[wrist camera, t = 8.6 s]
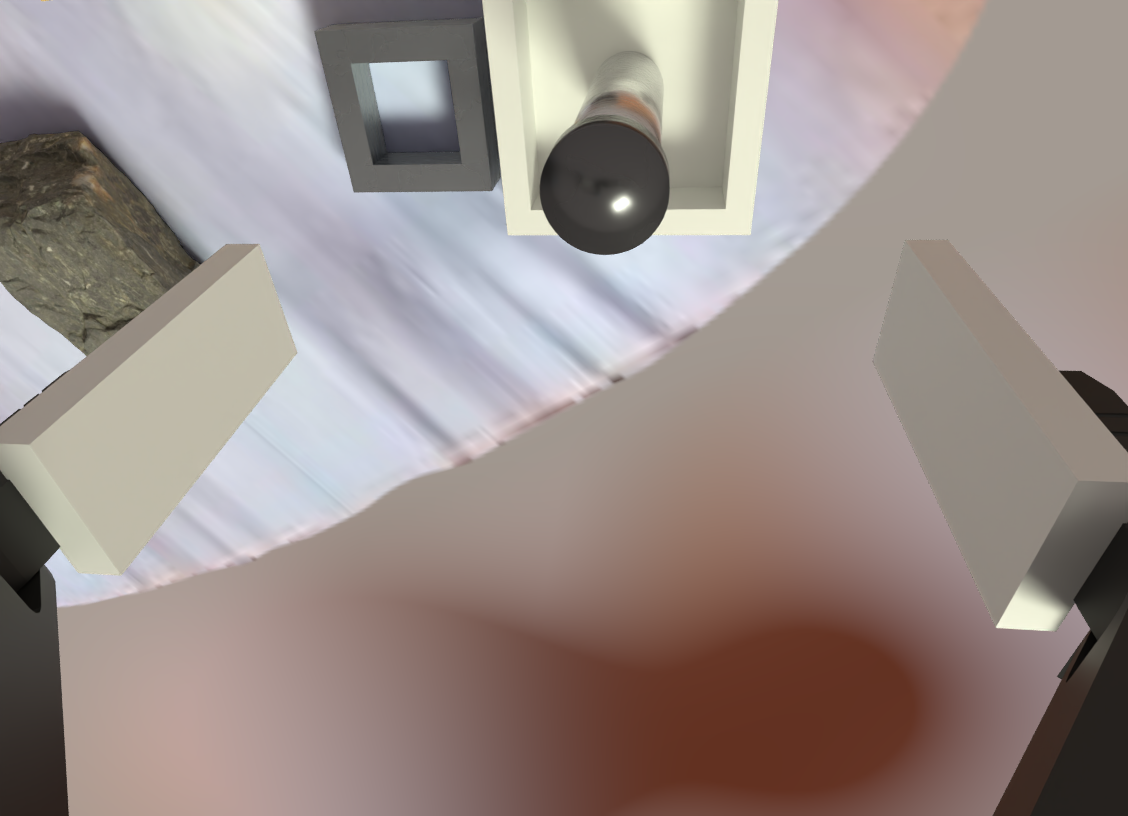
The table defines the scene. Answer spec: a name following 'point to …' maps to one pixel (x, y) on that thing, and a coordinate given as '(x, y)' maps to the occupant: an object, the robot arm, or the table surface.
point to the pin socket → (359, 116)
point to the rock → (81, 239)
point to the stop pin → (611, 161)
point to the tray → (690, 103)
